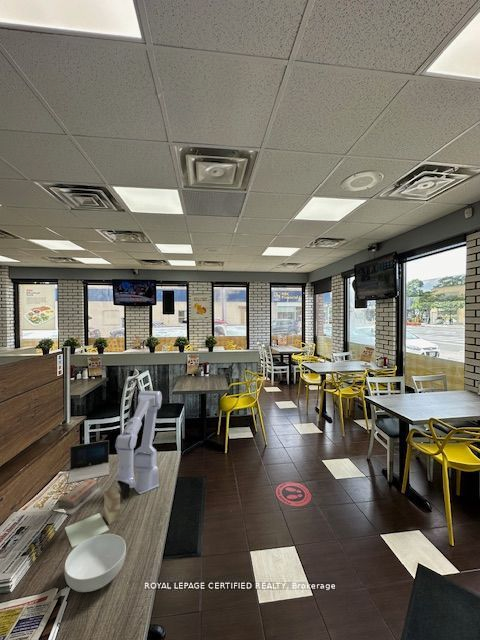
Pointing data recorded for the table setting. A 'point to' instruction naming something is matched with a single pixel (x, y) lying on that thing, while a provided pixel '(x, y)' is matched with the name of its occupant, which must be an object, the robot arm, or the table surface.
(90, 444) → the laptop
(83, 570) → the cereal bowl
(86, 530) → the mat
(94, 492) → the packaged product
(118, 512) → the birch block
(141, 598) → the table surface
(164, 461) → the table surface
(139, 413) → the robot arm
